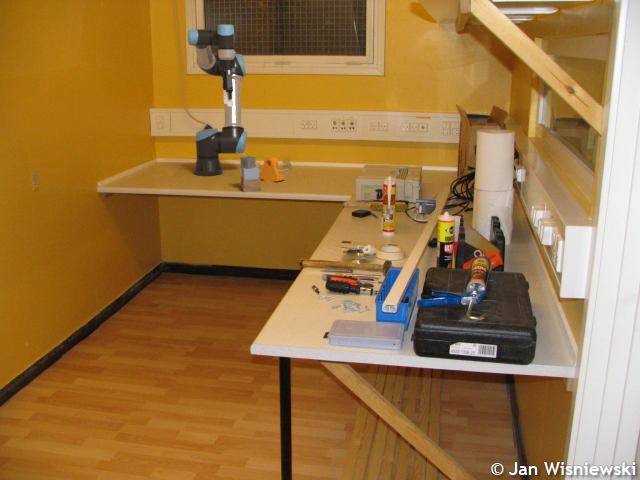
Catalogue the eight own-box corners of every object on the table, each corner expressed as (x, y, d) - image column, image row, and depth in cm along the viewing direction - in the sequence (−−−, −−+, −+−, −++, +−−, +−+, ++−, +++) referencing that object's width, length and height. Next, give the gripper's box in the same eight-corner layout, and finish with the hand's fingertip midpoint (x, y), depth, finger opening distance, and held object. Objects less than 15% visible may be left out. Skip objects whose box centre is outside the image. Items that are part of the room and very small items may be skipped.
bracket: (285, 180, 344) (285, 157, 340) (277, 182, 338) (276, 159, 334) (268, 178, 349) (268, 155, 346) (260, 180, 343) (259, 157, 340)
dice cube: (248, 169, 315) (247, 158, 313) (240, 167, 318) (240, 157, 316) (255, 167, 318) (255, 157, 317) (248, 166, 321) (247, 155, 320)
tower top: (241, 176, 322) (241, 166, 321) (255, 176, 324) (255, 165, 323) (244, 179, 316) (244, 169, 314) (259, 178, 318) (258, 168, 316)
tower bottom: (241, 188, 324) (240, 176, 322) (257, 188, 326) (257, 175, 325) (244, 192, 317) (243, 179, 315) (260, 191, 319) (260, 178, 317)
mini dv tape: (415, 213, 278) (415, 199, 277) (415, 212, 280) (415, 198, 278) (435, 214, 277) (435, 200, 275) (435, 214, 278) (436, 199, 276)
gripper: (238, 59, 306) (239, 107, 312) (231, 58, 329) (232, 102, 335) (221, 59, 304) (223, 107, 310) (215, 58, 327) (217, 102, 333)
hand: (228, 105), depth 323 cm, fingers open, 13 cm apart
